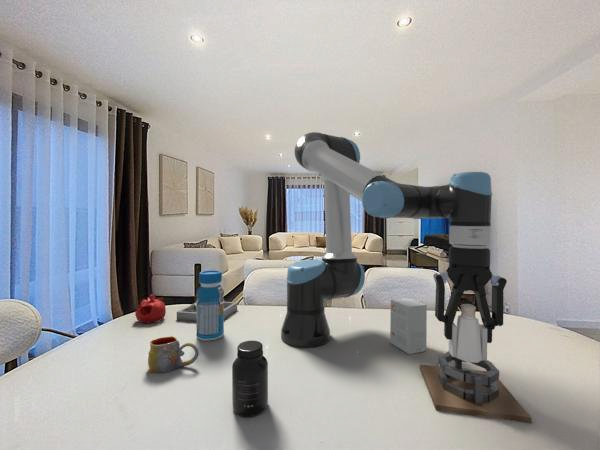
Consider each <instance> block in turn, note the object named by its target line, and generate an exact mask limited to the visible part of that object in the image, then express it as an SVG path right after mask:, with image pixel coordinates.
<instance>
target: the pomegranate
mask: <svg viewBox="0 0 600 450" xmlns="http://www.w3.org/2000/svg"><path fill="white" fill-rule="evenodd" d="M163 299H164V298H163V297H159V298H156V299H155V296H154V294H150V296H149V297H146V298H145V299H143V300H142V299H140V300H139V302H140V303H139V305H138V306H137V309H136V311H135V318H136V320H137V321H138V322H139V323H143V324H151V323H157V322H159V321H162V320H163V319H164V318H165V317H166V313H167V311H166V304H165V303H164V302H163V301H162V300H163Z"/></svg>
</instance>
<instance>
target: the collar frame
mask: <svg viewBox="0 0 600 450" xmlns="http://www.w3.org/2000/svg"><path fill="white" fill-rule="evenodd" d="M451 362H454V366H453V365H450V364H449V363H451ZM463 362H464V363H467V362H466V361H463V360H460V359H458V358H456V357H452V355H451V354H450V352H449V351H447V352H445V353H442V354H440V355H439V356H438V366H440V367H441V369H442V370H440V371H439V372H438V379H439V381H440V383H441V386H442V388H443V389H444V390H446V391H448V392H450V393H451V394H453V395H455V396H457V397H459V398H461V399H465V400H467V401H473V402H474V404H475V405H478V406H482V403H490V402H491V401H493V400H494V399H496V398H497V397H499V388H498V387H497V385H496V384H495V383H494V382H495V381H497V380H498V379H499V380H500V370H499V369H498V368H497V367H496V366H495V364H493V362H491V361H490V360H488V359H487V360H481V361H480V362H478V363H472V362H469V363H470V364H472V365H475V366H477V367H479V368H483V369H485V371H487V373H485V374H481V373H478V372H476V371H474V370H475V369H471V368H470V369H469V368H465V367H463ZM451 376H452V377H454V378H456V379H458V380H460V381H462V382H466V383H473V390H465V389H463V388H461V387H459V386H457V385H455V384H453V383H451V382H449V381H448V378H450V377H451ZM483 385H485V386H486V387H487V390H485V391H484V392H483Z"/></svg>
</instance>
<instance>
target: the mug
mask: <svg viewBox="0 0 600 450" xmlns="http://www.w3.org/2000/svg"><path fill="white" fill-rule="evenodd" d="M180 344H181V343H180V341H179V340H178V339H177V337H175V336H173V335H171V336H165V337H164V336H163V337H158V338H155V339H153V340H151V341H150V342H149V346H150V348H149V351H148V357H147V365H148V369H147V373H148V374H151V373H156V374H158V373H159V374H161V373H167V372H170V371H174V370H175V369H178V368H183V367H186V366H187V367H188V366H189V365H191V364H193V363H195V362H196V361H197V360H198V358H199V355H200V354H199V349H198V347H197V346H196V345H195V344H194V343H192V342H187V343H186V342H185V343H184V344H182V345H181V346H180ZM185 347H190V348H192V349H193V351H194V355H193V357H192V358H191V359H188V360H182V357H183V356H184V355H185V351H184V350H183V349H184V348H185Z"/></svg>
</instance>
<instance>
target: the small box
mask: <svg viewBox="0 0 600 450" xmlns="http://www.w3.org/2000/svg"><path fill="white" fill-rule="evenodd" d="M427 306H428V305H427V304H425V303H422V302H419V301H417V300H414V299H410V298H405V297H403V298H393V299H392V298H391V299H390V327H389V328H390V330H389V331H390V332H389V333H390V338H389V342H390V344H391V345H393V346H395V347H396V348H398V349H400V350H401V351H403V352H405V353H406V354H408V355H413V354H418V353H422V352H426V351H427V335H428V334H427V323H428V322H427V321H428V320H427V319H428V317H427V313H428V312H427Z"/></svg>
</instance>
